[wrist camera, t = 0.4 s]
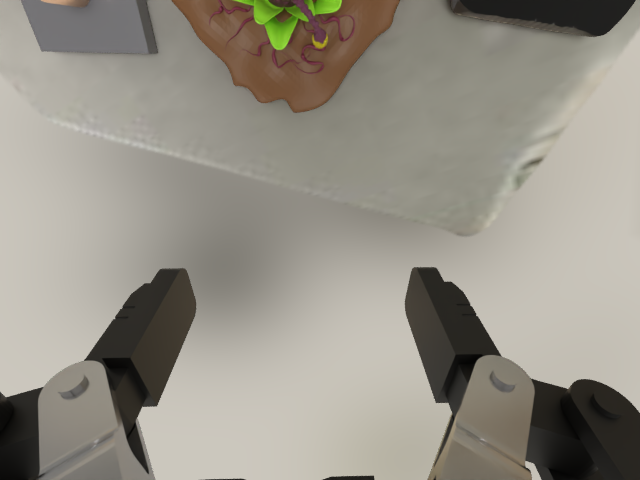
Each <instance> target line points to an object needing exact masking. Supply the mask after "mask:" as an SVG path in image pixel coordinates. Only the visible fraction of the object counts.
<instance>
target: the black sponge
mask: <svg viewBox="0 0 640 480" xmlns="http://www.w3.org/2000/svg"><path fill="white" fill-rule="evenodd" d="M635 1H636V0H451V8H452V10H453V12H454V13H456V14H458V15H463V16H469V17H474V18H479V19H485V20H490V21H495V22H501V23H507V24H513V25H520V26H526V27H532V28H538V29H545V30H550V31H556V32H561V33H562V32H565V33H570V34H576V35H583V36H589V37H596V36H601V35H604V34H606V33H607V32H609V31H610V30H611V29H612V28H613V27H614V26H615V25H616V24H617V23H618V22H619V21H620V20H621V19H622V17H623V16H624V15H625V14H626V13H627V12H628V10H629V9H630V8H631V6H632V5H633V4H634V2H635Z"/></svg>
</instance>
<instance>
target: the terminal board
mask: <svg viewBox="0 0 640 480" xmlns="http://www.w3.org/2000/svg"><path fill="white" fill-rule="evenodd" d="M21 2H22V4H23V7H24V9H25V12H26V14H27V17H28V19H29V22H30V24H31V27H32V29H33V31H34V34H35V36H36V39H37V41H38V44H39V46H40V49H41V51H52V52H99V53H145V54H150V53H158V51H157V47H156V43H155V38H154V34H153V30H152V25H151V21H150V17H149V12H148V8H147V4H146V0H21Z"/></svg>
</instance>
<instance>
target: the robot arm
mask: <svg viewBox="0 0 640 480" xmlns="http://www.w3.org/2000/svg"><path fill="white" fill-rule="evenodd" d="M405 311H406V316H407V319H408V322H409V325H410V327H411V331H412V334H413V337H414V339H415V342H416V345H417V348H418V351H419V354H420V357H421V360H422V363H423V366H424V369H425V372H426V375H427V378H428V381H429V384H430V387H431V390H432V393H433V396H434V399H435V401H436V403H449V405H450V408H451V411H452V414H451V416H450V419H449V422H448V424H447V427H446V430H445V433H444V435H443V438H442V441H441V444H440V447H439V449H438V452H437V455H436V458H435V461H434V463H433V466H432V469H431V472H430V474H429V477H428V479H427V480H532V475H531V472H530V470H529V469H528V468H526V467H525V461H528V462H531V463H534V464H535V466H536V468H537V471H538V473H539V475H540V477H541V479H542V480H640V413H639V412H638V410H637V409H636V408H635V407H634V406H633V405H632V403H630V401H628V400H627V399H626V398H625V397H624V396H623V395H621V394H620V393H619V392H617V391H616V390H614V389H612V388H610V387H609V386H607V385H604V384H602V383H600V382H597V381H593V380H588V379H581V380H577V381H576V382H574V383H573V384H572V385H571V386H570V388H569V389H566V388H563V387H559V386H555V385H552V384H548V383H544V382H540V381H537V380H534V379H531V378H530V377H529V376H528V375H527V374H526V372H525V371H524V370H523V369H522V368H521V367H520V366H518V365H517V364H515V363H514V362H512V361H511V360H509V359H506V358H504V357H502V356H501V355H500V353H499V351H498V350H497V348H496V346H495V345H494V343H493V341H492V340H491V338H490V336H489V334H488V333H487V331H486V330H485V328H484V326H483V324H482V323H481V321H480V319H479V318H478V316H476V313H475V311H474V309H473V307H472V306H470V303H469V301H468V299H467V297H466V296H465V294H464V292H463V291H461V290H460V289H459V288H458V287H457V286H456V285H455V284H453V283H452V282H444V281H443V279H442V277H441V275H440V273H439V271H438V270H437V268H434V267H420V268H419V267H414V268H413V269H412V271H411V275H410V280H409V284H408V290H407V293H406V299H405ZM195 313H196V300H195V296H194V293H193V290H192V286H191V283H190V280H189V276H188V273H187V271H186V270H185V269H183V268H180V269H160V270H159V271H158V273H157V274H156V276H155V277H154V279H153V280H152V282H151V283H146V284H144V285H143V286H141V287H140V288H139V289H137V290H136V291H135V292H133V293H132V294H131V295H130V297H129V298H128V300H127V301H126V302H125V304H124V305H123V308H122V309H120V311H119V312H118V314H117V315H116V317H115V319H114V320H113V321H112V322H111V324H110V325H109V327H108V328H107V329H106V331H105V332H104V334H103V335H102V336H101V338H100V339H99V341H98V342H97V343H96V345H95V346H94V348H93V349H92V351H91V352H90V354H89V355H88V356H87V358H86V359H85V360H84V361H82V362H79V363H75V364H73V365H71V366H69V367H67V368H65V369H63V370H62V371H60V372H59V373H57V374H56V375H55V376H53V378H51V379H50V380H49V381H48V382H47V383H46V385H45V386H44V387H42V388H38V389H34V390H31V391H27V392H24V393H20V394H17V395H13V396H10V397H5V396H4V395H3V394H2V393H1V392H0V480H155V477H154V474H153V470H152V467H151V463H150V459H149V456H148V453H147V449H146V445H145V442H144V438H143V435H142V431H141V428H140V425H139V421H138V419H137V417H138V415H139V412H140V410H141V408H142V407H147V406H148V407H150V406H157V405H158V402H159V400H160V398H161V395H162V393H163V391H164V388H165V386H166V383H167V381H168V378H169V376H170V374H171V372H172V369H173V367H174V364H175V362H176V359H177V357H178V355H179V353H180V350H181V348H182V345H183V343H184V341H185V338H186V336H187V334H188V331H189V329H190V326H191V324H192V322H193V319H194V317H195ZM209 480H245V479H209ZM323 480H374V476H341V477H329V478H326V479H323Z"/></svg>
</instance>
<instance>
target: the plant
mask: <svg viewBox="0 0 640 480" xmlns="http://www.w3.org/2000/svg"><path fill="white" fill-rule="evenodd" d="M399 1H400V0H172V2H173V3H174V4H175V5H176V6H177V7H178V9H179V10H180V11H181V12H182V13H183V14H184V15H185V17H186V18H187V19H188V20H189V22H190V24H191V26H192V27H193V29H194V31H195V33H196V34H197V36H198V37H199V39H200V40H201V41H202V42H203V43H204V44H205V45H206V46H207V47H208V48H209V49H210V50H211V51H212V52H213V53H215V54H216V55H217V56H218V57H219V58H220V59H221V60H222V61H223V62H224V63H225V64H226V65H227V67H228V69H229V71H230V73H231V76H232V79H233V83H234V85H235V86H243V87H246V88H248V89H249V90H250V91H251V92H252V93H253V95H254V96H255V98H256V99H257V100H258V101H259V102H261V103H268V102H272V101H274V100H278V99H284V100H286V101H287V102H288V104H289V106H290V108H291V109H292V111H293V112H295V113H297V112H304V111H309V110H312V109H315V108H317V107H319V106H321V105H323V104H324V103H326V102H327V101H328V100H329V99H330V98H331V97H332V95H333V94H334V93H335V91H336V90H337V89H338V87H339V86H340V84H341V82H342V81H343V79H344V77H345V76H346V74H347V72H348V71H349V70H350V68H351V67H352V66H353V64H354V63H355V62H356V61H357V59H358V58H359V57H360V56H361V55H362V53H363V52H364V51H365V50H366V49H367V47H368V46H369V45H370V44H371V43H372V42H373V40H374V39H375V38H376V37H377V36H379V35H380V34H381V33H383V32H385V31H386V30H387V29H388V28H389V27H390V26H391V24H392V22H393V17H394V13H395V10H396V8H397V6H398V4H399Z"/></svg>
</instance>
